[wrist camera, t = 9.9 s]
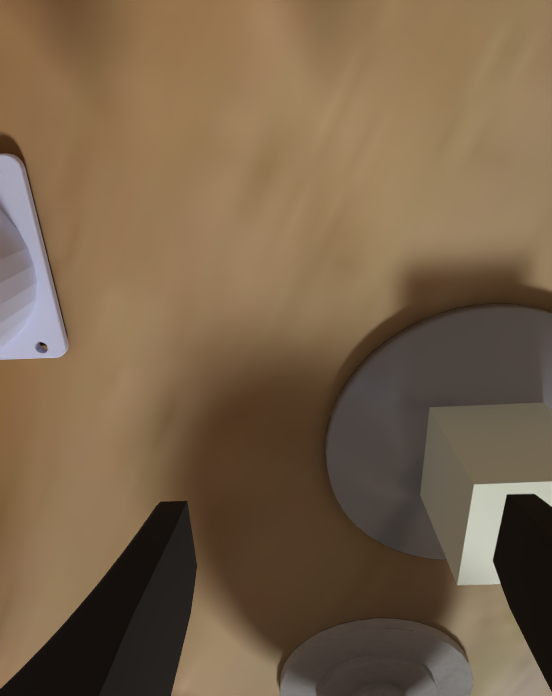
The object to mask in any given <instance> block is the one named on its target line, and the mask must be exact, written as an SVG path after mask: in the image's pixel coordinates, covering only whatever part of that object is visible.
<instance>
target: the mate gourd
mask: <svg viewBox="0 0 552 696" xmlns="http://www.w3.org/2000/svg"><path fill="white" fill-rule="evenodd" d="M472 688H473V675H472V671H471V668H470V665H469V662H468V660H467V657H466V654H465V653H464V651H463V650H462V649H461V647H460V646H459V644H458V643H457V642H455V641H454V640H453V639H452V638H451V637H449V636H448V635H447V634H445V633H443V632H441V631H439V630H437V629H436V628H434V627H431V626H428V625H425V624H422V623H419V622H415V621H409V620H403V619H392V618H374V619H365V620H356V621H352V622H348V623H344V624H340V625H336V626H334V627H331V628H329V629H326V630H324V631H321V632H319V633H317V634H316V635H314V636H312V637H311V638H309V639H307V640H305V641H304V642H303V643H302V644H301V645H300V646H298V647H297V648H296V649H295V650H294V651H293V652H292V653H291V655H290V656H289V657H288V659H287V660H286V661H285V664H284V666H283V669H282V671H281V676H280V696H470V694H471V691H472Z"/></svg>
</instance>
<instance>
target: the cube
mask: <svg viewBox="0 0 552 696" xmlns="http://www.w3.org/2000/svg"><path fill="white" fill-rule="evenodd" d="M507 494H536V495H537V496H538V497H540V498H541V499H542V500H544V501H545V502H546V503H547V504H549V505H550V506H551V507H552V411H551V410H550V409H549V408H548V407H547V406H546V405H545V404H544V403H543V402H542V403H519V404H495V405H472V406H448V407H429V416H428V426H427V435H426V445H425V454H424V463H423V473H422V482H421V492H420V496H421V498H422V501H423V503H424V506H425V508H426V510H427V513H428V515H429V518H430V520H431V523H432V525H433V528H434V530H435V532H436V535H437V537H438V540H439V542H440V545H441V547H442V549H443V552H444V554H445V557H446V559H447V562H448V564H449V567H450V569H451V571H452V574H453V576H454V579H455V581H456V584H457V585H482V584H501V583H500V580H499V577H498V575H497V572H496V569H495V566H494V563H493V557H494V552H495V547H496V543H497V538H498V533H499V529H500V524H501V519H502V515H503V510H504V505H505V501H506V496H507Z"/></svg>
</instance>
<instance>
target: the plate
mask: <svg viewBox="0 0 552 696" xmlns="http://www.w3.org/2000/svg"><path fill="white" fill-rule="evenodd" d="M542 402H543V403H544V404H545V405H546V406H547V407H548V408H549V409H550V410H551V411H552V312H551V311H547V310H544V309H541V308H537V307H532V306H525V305H519V304H497V303H493V304H483V305H473V306H468V307H463V308H458V309H454V310H449V311H446V312H444V313H441V314H438V315H435V316H432V317H429V318H427V319H425V320H422V321H420V322H418V323H416V324H414V325H412V326H410V327H408V328H406V329H404V330H403V331H401V332H400V333H398V334H396V335H395V336H393V337H392V338H390V339H389V340H387V341H386V342H385V343H384V344H382V345H381V346H380V347H379V348H377V349H376V350H375V351H374V352H372V353H371V354H370V355H369V356H368V357H367V358H366V359H365V360H364V361H363V362H362V363H361V364H360V365H359V366H358V368H357V369H356V370H355V372H354V373H353V374H352V376H351V377H350V378H349V379H348V381H347V382H346V384H345V385H344V387H343V389H342V391H341V392H340V394H339V396H338V398H337V400H336V402H335V405H334V407H333V409H332V412H331V414H330V418H329V422H328V427H327V431H326V442H325V452H326V464H327V470H328V475H329V479H330V483H331V487H332V490H333V492H334V494H335V497H336V499H337V501H338V503H339V504H340V506H341V508H342V509H343V511H344V512H345V514H346V515H347V516H348V517H349V518H350V520H351V521H352V522H353V523H354V524H355V525H356V526H357V527H358V528H360V529H361V530H362V531H363V532H364V533H365V534H367V535H368V536H370V537H371V538H373V539H374V540H376V541H378V542H379V543H381V544H383V545H385V546H387V547H390V548H392V549H394V550H397V551H400V552H403V553H406V554H409V555H414V556H418V557H423V558H430V559H438V560H447V559H446V557H445V554H444V552H443V549H442V547H441V545H440V542H439V540H438V537H437V535H436V532H435V530H434V528H433V525H432V523H431V520H430V518H429V515H428V513H427V510H426V508H425V506H424V503H423V501H422V498H421V496H420V492H421V482H422V473H423V463H424V454H425V445H426V435H427V426H428V416H429V407H448V406H472V405H495V404H519V403H542Z"/></svg>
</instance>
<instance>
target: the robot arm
mask: <svg viewBox="0 0 552 696" xmlns="http://www.w3.org/2000/svg"><path fill="white" fill-rule="evenodd" d="M39 342H43V343H45V344H46V345H47V347H48V350H47V349H43V348H42V347H41V346H40V344H39ZM68 348H69V345H68V340H67V335H66V331H65V327H64V323H63V319H62V315H61V311H60V307H59V303H58V299H57V295H56V291H55V287H54V283H53V279H52V275H51V271H50V266H49V262H48V258H47V254H46V250H45V246H44V242H43V238H42V234H41V230H40V226H39V222H38V218H37V214H36V210H35V206H34V202H33V197H32V193H31V189H30V185H29V181H28V177H27V173H26V169H25V166H24V164H23V162H22V161H21V160H20V158H19V157H17V156H15V155H14V154H9V153H3V154H0V360H2V359H30V358H57V357H61V356H62V355H64V354H65V353H66V352H67V350H68ZM493 563H494V566H495V569H496V572H497V575H498V577H499V580H500V583H501V586H502V589H503V591H504V594H505V596H506V599H507V602H508V604H509V607H510V609H511V611H512V613H513V615H514V617H515V620H516V622H517V624H518V626H519V628H520V630H521V632H522V634H523V636H524V638H525V640H526V642H527V644H528V646H529V648H530V650H531V652H532V654H533V656H534V658H535V660H536V662H537V664H538V666H539V668H540V670H541V672H542V674H543V676H544V678H545V679H546V681H547V683H548V685H549V687H550V689H551V691H552V507H551V506H550V505H549V504H547V503H546V502H545V501H544V500H542V499H541V498H540V497H538V496H537V495H536V494H507V496H506V501H505V505H504V510H503V515H502V519H501V524H500V529H499V533H498V538H497V543H496V547H495V552H494V557H493ZM196 570H197V563H196V556H195V549H194V543H193V536H192V530H191V523H190V516H189V510H188V503H187V501H170V502H160V503H159V504H158V505H157V506H156V507H155V509H154V510H153V512H152V513H151V514H150V516H149V517H148V519H147V520H146V521H145V523H144V524H143V526H142V527H141V528H140V530H139V531H138V533H137V534H136V535H135V537H134V538H133V539H132V541H131V542H130V543H129V545H128V546H127V548H126V549H125V550H124V552H123V553H122V554H121V555H120V557H119V558H118V559H117V561H116V562H115V563H114V564H113V566H112V567H111V568H110V569H109V571H108V572H107V573H106V575H105V576H104V577H103V578H102V580H101V581H100V582H99V583H98V585H97V586H96V587H95V588H94V589H93V591H92V592H91V593H90V594H89V595H88V596H87V598H86V599H85V600H84V601H83V602H82V603H81V605H80V606H79V607H78V608H77V609H76V610H75V612H74V613H73V614H72V615H71V616H70V617H69V619H68V620H67V621H66V622H65V623H64V624H63V625H62V626H61V628H60V629H59V630H58V631H57V632H56V633H55V634H54V635H53V636H52V637H51V638H50V640H49V641H48V642H47V643H46V644H45V645H44V646H43V647H42V648H41V649H40V650H39V651H38V652H37V653H36V654H35V655H34V656H33V657H32V658H31V659H30V660H29V661H28V662H27V663H26V664H25V665H24V666H23V668H22V669H21V670H20V671H19V672H18V673H16V674H15V675H14V676H13V677H12V678H11V679H10V680H9V681H8V682H7V683H6V684H5V685H4V686H3V687H2V688H1V689H0V696H171V692H172V688H173V684H174V680H175V676H176V672H177V668H178V664H179V660H180V656H181V651H182V647H183V643H184V639H185V635H186V631H187V626H188V622H189V618H190V614H191V607H192V600H193V593H194V585H195V577H196Z"/></svg>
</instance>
